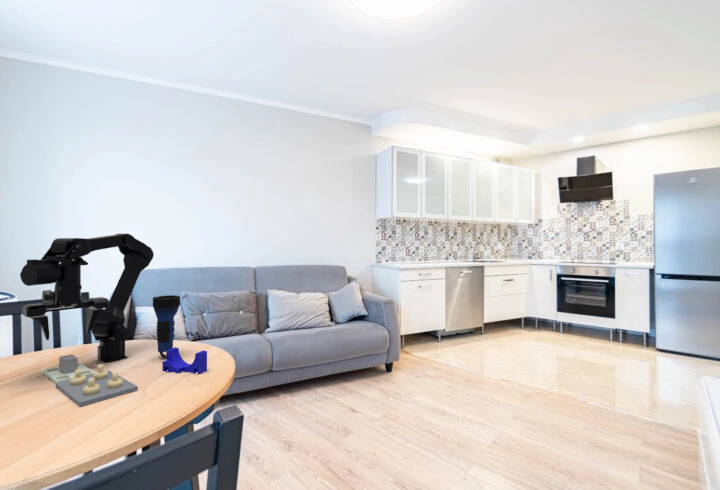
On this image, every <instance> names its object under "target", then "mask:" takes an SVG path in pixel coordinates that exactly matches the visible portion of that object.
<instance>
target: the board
mask: <svg viewBox="0 0 720 490" xmlns="http://www.w3.org/2000/svg"><path fill="white" fill-rule="evenodd" d="M77 369H81V375H85V376H89V375H93V373H94V372H95V371H94V370H92V369H90V368H88V367H87V366H85V365H83V364H82V363H80V362H79V359H78V356H76V355H74V354H68V355H67V354H65V355H61V356H59V358H58V366H57V367H51V368H47V369H42V370H41V373H42V374H43V375H45V376H46V377H47V378H48V379H49V380H51V382H52V383H55V384H56V383H59V382H64V381H68V380H70V378H72V377H75V370H77Z"/></svg>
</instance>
